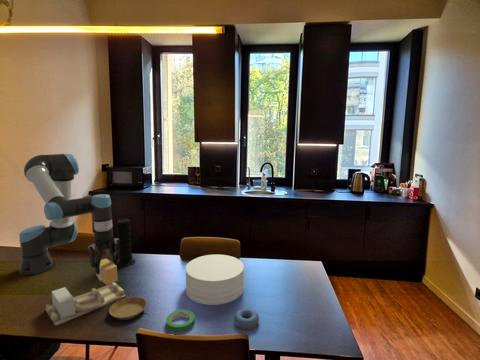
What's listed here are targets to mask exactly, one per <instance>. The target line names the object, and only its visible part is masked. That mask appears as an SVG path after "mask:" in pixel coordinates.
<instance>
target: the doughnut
mask: <svg viewBox="0 0 480 360" xmlns="http://www.w3.org/2000/svg"><path fill="white" fill-rule="evenodd" d="M233 317H234V318H233V321H234V324H235V326H237V327H238V328H239V329H243V330H252V329H254V328H255V327H257V326H258V325H259V322H260V320H259V319H260V318H259V317H260V316H259V314H258V313H257V311H255V309H252V308H247V307H245V308H241V309H238V310H237V311H236V312H235V313H234V316H233Z"/></svg>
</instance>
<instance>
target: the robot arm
mask: <svg viewBox="0 0 480 360" xmlns="http://www.w3.org/2000/svg"><path fill="white" fill-rule="evenodd" d="M23 167H24V168H23V174H24V176H25V178H26V179H27V181H28V182H30V183H32V184H33V186H34V188H35V189H36V191H37V192H38V194H39V195H40V198H41V199H42V201H43V202H44V203H45V205H44V207H43V212H44V217H45V218H46V220H48V221H50V222H49V226H45V225H42V224H41V225H40V224H39V225H34V226H33V225H32V226H29V227H26V228H25V229H23V230H21V231H20V233H19V239H18V242H19V246H20V254H21V261H20V263H19V267H18V272H19V275H21V276H32V275H37V274H41V273H44V272H46V271H49V270H50V269H51V268H52V267H53V266H54V265H53V264H54V263H53V260H52V258H51V256H50V254H49V253H48V252H49V250H48V249H49V248H53V247H57V246H60V245H65V244H68V243H69V244H70V243H73V242H74V241H76V238H77V236H78V226H77V224H76V222H74V220H73V219H71V218H72V217H76V216H78V217H79V216H81V215H82V216H83V215H88V214H92V217H93V218H92V219H93V221H92V222H93V230H94V231H93V232H94V234H93V235H94V242H93V243H92V244H91V245H90V244H89V245H87V249H88V250H89V263H90V265H89V266H90V267H92V268H93V269H94V268H95V275H96V274H98V277H97V278H98V280H99V282H103V281H102V267H101V266H100V262H101V260H102V258H103V257H102V256H103V253H104V250H107V251H108V253H109V257H110V259H111V261H110V262H112V263H113V264H114V265H116V266H117V262H118V261H120V247H119V243H120V239H118V237H116V238H114V230H113V215H112V200H111V196H110V194H108V193H107V194H105V193H104V194H103V193H99V194H94V195H84V196H83V197H79V198H74V199H71V198H72V191H71V189H72V188H71V187H72V186H71V185H72V181H73V180H74V179H75V176H77V175H78V174H79V172H80V171H79V170H80V169H79V163H78V160H77V158H76V157H75V156H74V155H73V154H71V153H59V154H58V153H55V154H39V155H36V156H33V157H31V158H30V159H28V160H27V162H26V163H25V165H24V166H23ZM113 243H114V250H113V246H112V245H113ZM95 247H96V248H97V249H96V248H95ZM95 249H96V251H97V253H96V252H95ZM95 253H96V256H95ZM117 267H118V266H117Z"/></svg>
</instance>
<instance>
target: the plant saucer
mask: <svg viewBox="0 0 480 360" xmlns="http://www.w3.org/2000/svg"><path fill="white" fill-rule="evenodd" d="M147 305H148V303H147V300H146V299H145V298H143V297H139V296H131V297H125V298H122V299H120V300H117V301H115V302H113V304H112V305H110V307H109V310H108V311H109V312H108V313H109V315H110V316H112V317H113V318H115V319H117V320H120V321H121V320H123V321H126V320H131V319H133V318H136V317H137V316H139V315H141V313H143V311H145V309H146V307H147Z"/></svg>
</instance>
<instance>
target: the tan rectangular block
mask: <svg viewBox="0 0 480 360" xmlns="http://www.w3.org/2000/svg"><path fill="white" fill-rule="evenodd" d="M116 265H117V264H116ZM116 265H114V264H113V263H112V262H111V261H110V260H109V259H108V258H103V259H101V262H100V266H101V267H102V281H101V282H102V283H104V284H105V286H107V285H110V284H111V283H113V282H115V283H116V282H118V281H119V280H118V277H119V276H118V266H116ZM95 276H96V278H98V274H96V273H95Z"/></svg>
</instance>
